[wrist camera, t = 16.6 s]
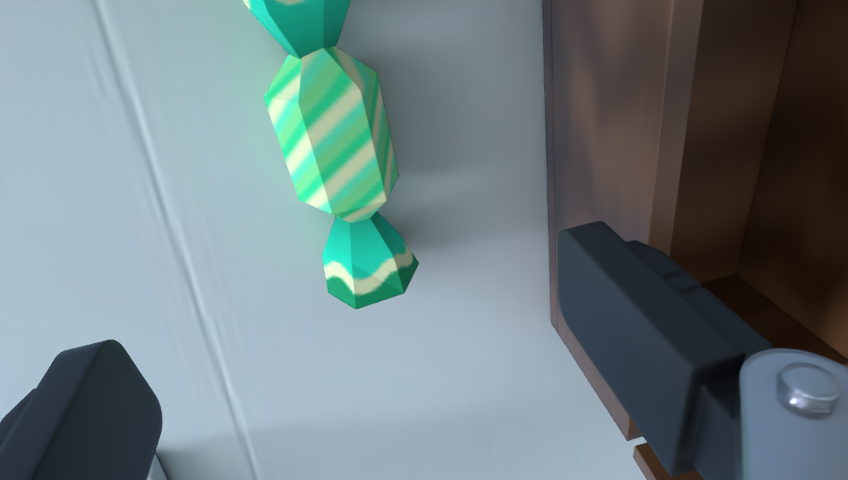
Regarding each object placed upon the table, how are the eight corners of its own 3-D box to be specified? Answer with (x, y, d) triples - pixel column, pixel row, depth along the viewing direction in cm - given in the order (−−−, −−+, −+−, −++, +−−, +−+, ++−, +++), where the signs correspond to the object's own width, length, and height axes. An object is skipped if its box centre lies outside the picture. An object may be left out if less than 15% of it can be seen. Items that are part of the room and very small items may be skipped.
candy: (190, -49, 14) (262, -66, 11) (291, -67, 16) (373, -85, 13) (311, 282, 20) (375, 321, 18) (373, 242, 22) (439, 271, 20)
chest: (539, -70, 16) (681, -79, 10) (827, -127, 17) (1117, -167, 11) (550, 322, 26) (627, 441, 20) (735, 273, 27) (864, 371, 20)
